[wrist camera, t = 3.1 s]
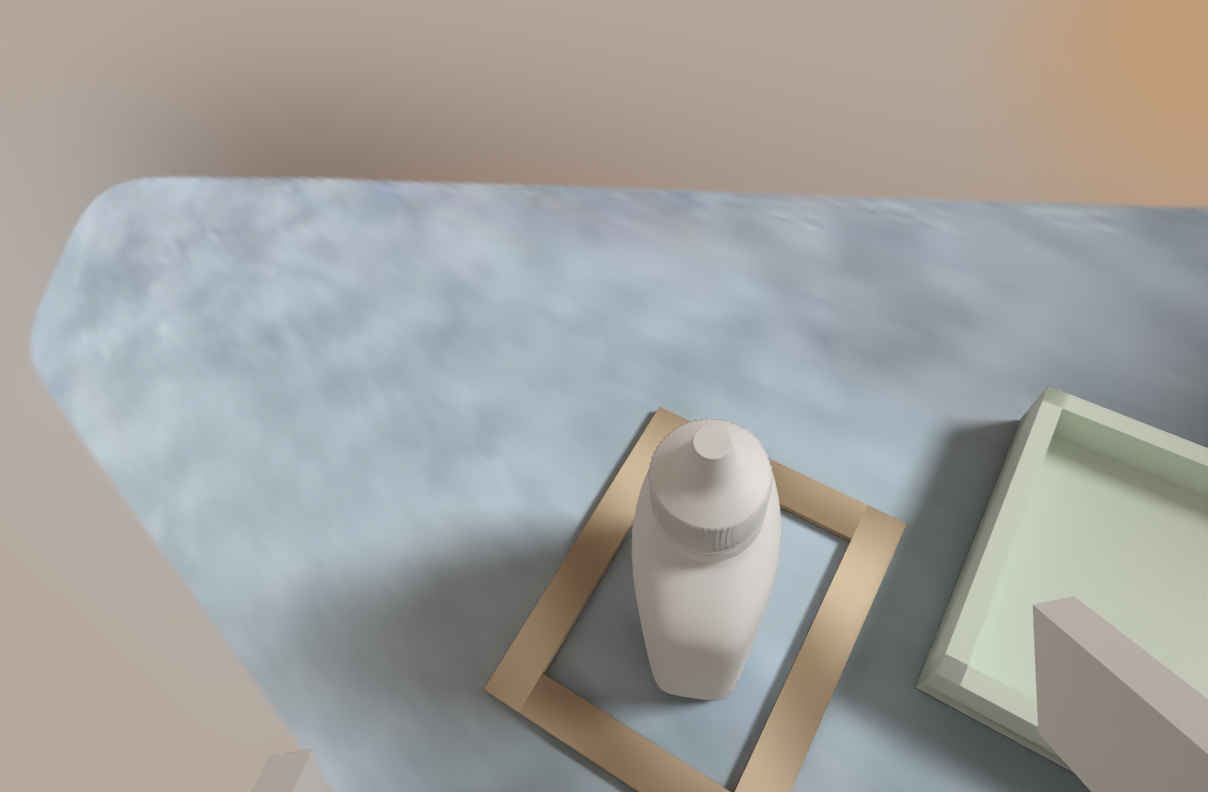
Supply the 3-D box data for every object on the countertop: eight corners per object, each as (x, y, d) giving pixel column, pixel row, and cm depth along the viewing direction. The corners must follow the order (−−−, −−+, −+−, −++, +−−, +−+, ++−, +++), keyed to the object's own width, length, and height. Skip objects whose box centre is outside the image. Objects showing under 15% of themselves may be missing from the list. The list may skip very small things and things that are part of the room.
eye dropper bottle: (808, 576, 24) (901, 390, 14) (708, 729, 23) (728, 645, 12) (694, 500, 26) (700, 282, 16) (591, 637, 24) (519, 493, 14)
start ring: (659, 410, 28) (659, 406, 27) (904, 526, 25) (906, 523, 25) (485, 690, 24) (483, 689, 23) (755, 869, 21) (756, 869, 20)
